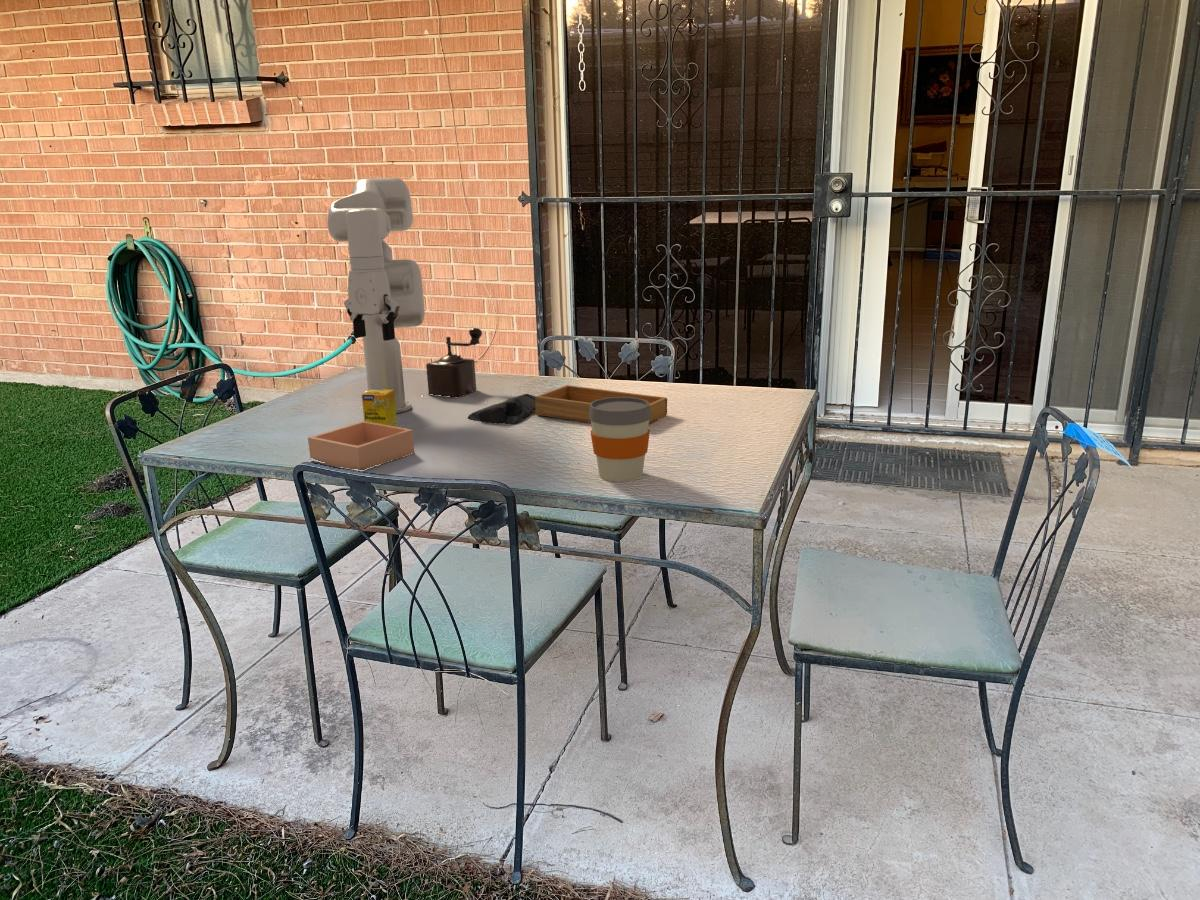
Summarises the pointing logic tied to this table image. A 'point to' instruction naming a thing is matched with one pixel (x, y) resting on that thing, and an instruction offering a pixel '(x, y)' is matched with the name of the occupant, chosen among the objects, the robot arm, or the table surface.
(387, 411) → the supplement box
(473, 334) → the manual coffee grinder
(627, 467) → the reusable coffee cup
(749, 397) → the table surface
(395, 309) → the robot arm
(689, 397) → the table surface
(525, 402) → the dark slate chunk
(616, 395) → the tray
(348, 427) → the planter box
